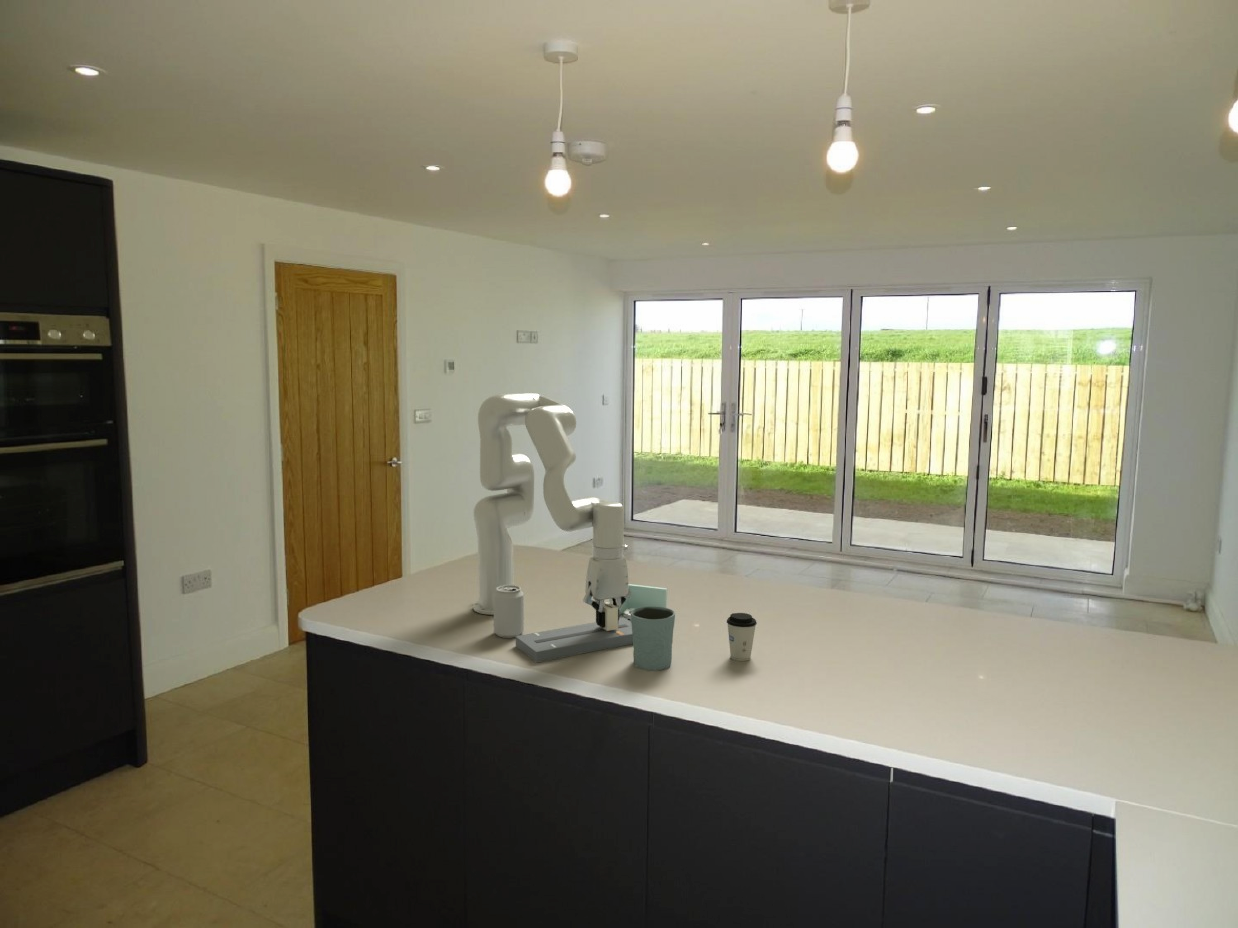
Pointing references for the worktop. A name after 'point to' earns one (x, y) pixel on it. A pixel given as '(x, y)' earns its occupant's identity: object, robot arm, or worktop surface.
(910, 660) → the worktop surface
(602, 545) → the robot arm
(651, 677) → the worktop surface
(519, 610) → the can
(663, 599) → the right angle wall
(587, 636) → the fader console
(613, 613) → the fader tab
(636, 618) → the teal embossed cup
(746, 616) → the coffee cup
